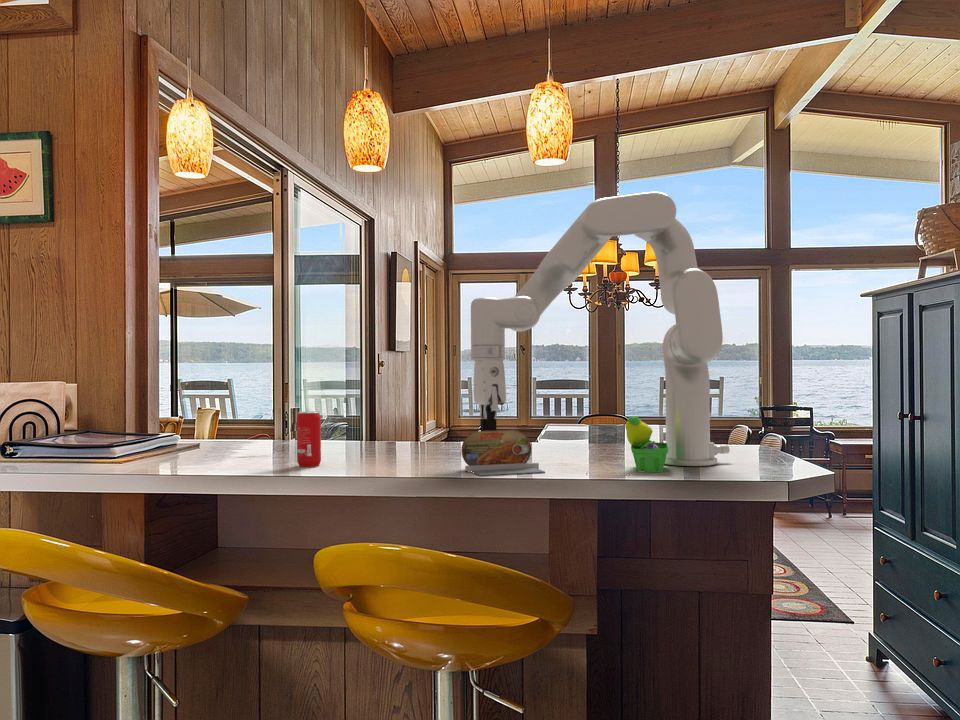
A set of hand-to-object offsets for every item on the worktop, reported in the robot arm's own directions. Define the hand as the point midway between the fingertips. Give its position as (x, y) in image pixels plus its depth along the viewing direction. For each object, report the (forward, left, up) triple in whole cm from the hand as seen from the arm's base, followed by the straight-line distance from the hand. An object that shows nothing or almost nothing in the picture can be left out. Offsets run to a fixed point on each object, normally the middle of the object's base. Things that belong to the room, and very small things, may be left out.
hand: (488, 436), depth 171 cm
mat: (0, +11, -6) cm, 13 cm away
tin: (0, +5, -7) cm, 9 cm away
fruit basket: (-30, +16, -7) cm, 35 cm away
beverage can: (+38, -13, -7) cm, 41 cm away
